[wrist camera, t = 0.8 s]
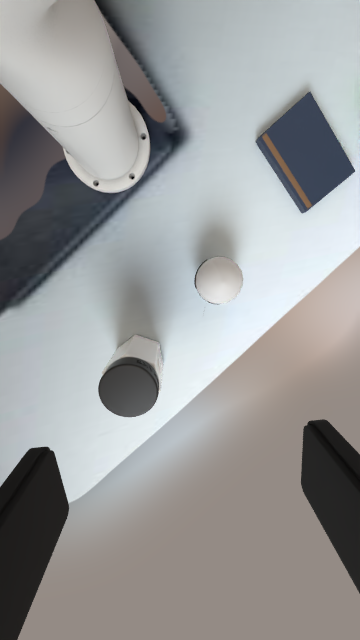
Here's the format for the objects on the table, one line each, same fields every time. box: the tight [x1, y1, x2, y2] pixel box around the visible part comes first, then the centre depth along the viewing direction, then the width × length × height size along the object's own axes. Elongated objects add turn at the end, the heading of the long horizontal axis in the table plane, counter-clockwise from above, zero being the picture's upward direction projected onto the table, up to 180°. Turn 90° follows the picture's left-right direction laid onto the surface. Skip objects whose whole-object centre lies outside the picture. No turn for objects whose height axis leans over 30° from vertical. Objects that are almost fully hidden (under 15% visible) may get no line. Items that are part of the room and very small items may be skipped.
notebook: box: [256, 92, 355, 213], centre depth 36 cm, size 13×9×1 cm
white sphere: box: [195, 257, 243, 314], centre depth 37 cm, size 10×7×7 cm
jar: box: [98, 335, 163, 417], centre depth 38 cm, size 9×8×12 cm
